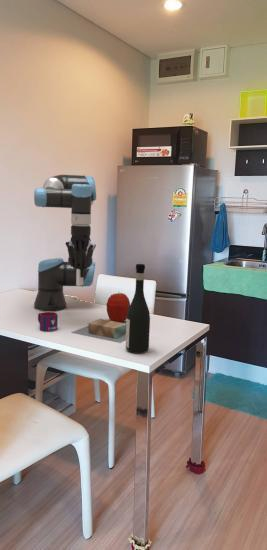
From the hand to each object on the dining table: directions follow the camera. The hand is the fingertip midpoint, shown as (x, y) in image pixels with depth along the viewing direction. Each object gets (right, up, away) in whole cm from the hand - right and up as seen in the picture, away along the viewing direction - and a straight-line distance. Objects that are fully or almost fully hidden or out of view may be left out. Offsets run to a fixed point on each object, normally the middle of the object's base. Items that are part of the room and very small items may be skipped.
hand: (79, 285), depth 169 cm
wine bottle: (+22, -22, -21) cm, 38 cm away
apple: (+14, -17, +14) cm, 26 cm away
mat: (+10, -19, -4) cm, 22 cm away
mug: (-13, -18, 0) cm, 22 cm away
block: (+6, -16, -2) cm, 17 cm away
